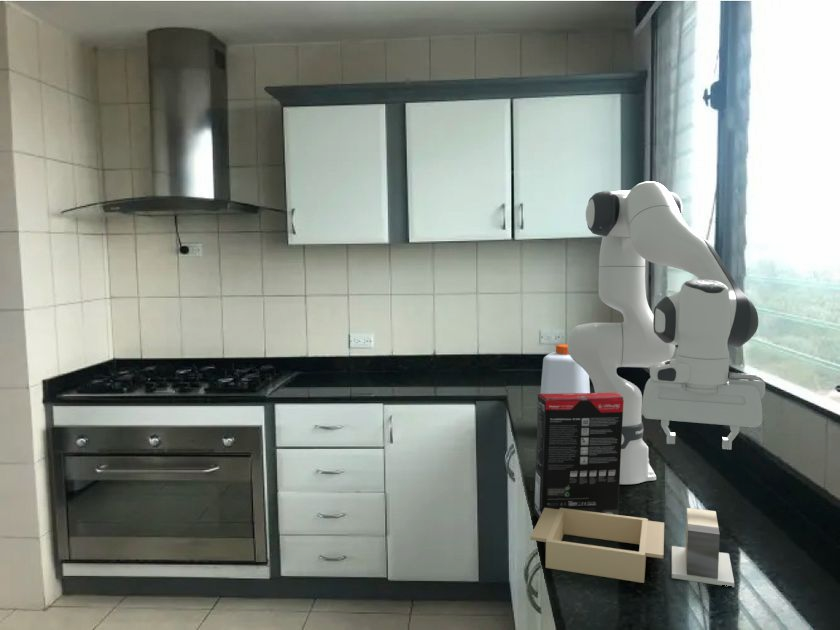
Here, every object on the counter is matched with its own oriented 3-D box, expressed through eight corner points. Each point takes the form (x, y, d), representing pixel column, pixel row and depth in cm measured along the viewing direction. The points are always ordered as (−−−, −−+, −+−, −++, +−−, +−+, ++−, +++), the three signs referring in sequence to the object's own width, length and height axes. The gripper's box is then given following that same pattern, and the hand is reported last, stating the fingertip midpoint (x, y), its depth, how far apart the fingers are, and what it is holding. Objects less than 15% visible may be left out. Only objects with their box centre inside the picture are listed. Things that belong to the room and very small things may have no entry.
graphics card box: (609, 511, 152) (612, 389, 149) (621, 524, 145) (625, 396, 142) (533, 515, 150) (534, 391, 147) (542, 528, 143) (544, 398, 140)
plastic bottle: (593, 432, 217) (595, 343, 214) (584, 444, 203) (586, 350, 200) (546, 426, 223) (547, 340, 220) (533, 438, 209) (535, 347, 207)
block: (685, 548, 131) (686, 507, 130) (714, 552, 129) (715, 511, 129) (686, 574, 121) (688, 530, 120) (717, 579, 119) (719, 534, 118)
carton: (544, 529, 142) (545, 505, 142) (663, 545, 134) (664, 520, 134) (529, 565, 126) (529, 538, 126) (662, 585, 118) (663, 557, 118)
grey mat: (671, 549, 132) (671, 545, 132) (728, 557, 129) (728, 553, 129) (671, 578, 121) (671, 573, 121) (734, 587, 118) (734, 582, 118)
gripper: (763, 371, 123) (759, 446, 125) (643, 364, 130) (640, 435, 132) (768, 378, 117) (764, 457, 119) (642, 370, 124) (639, 445, 126)
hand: (698, 445), depth 125 cm, fingers open, 8 cm apart
